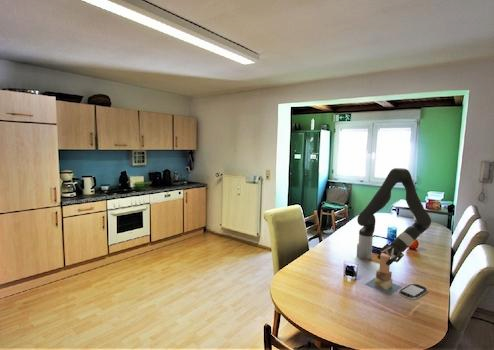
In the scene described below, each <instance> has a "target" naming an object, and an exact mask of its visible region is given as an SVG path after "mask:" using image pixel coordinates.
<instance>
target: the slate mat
mask: <svg viewBox="0 0 494 350" xmlns="http://www.w3.org/2000/svg"><path fill="white" fill-rule="evenodd" d="M374 282H375V277H374V278H372V279H371V280H369V281H367V282H366V283H365V284H364V285H365V286H367V287H369V288H372V289H374V290H377V291H379V292H382V293H384V294H386V295H389V296H392V295H393V294H395V293H396V292H397V291H400V290H401V288H402V287H403V286H402V285H399V284H397V283H394V282H392V286H391V287H390V288H389V289H387V290H385V289H383V288H380V287H378V286H375V285H374Z"/></svg>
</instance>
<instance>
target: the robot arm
mask: <svg viewBox="0 0 494 350" xmlns="http://www.w3.org/2000/svg"><path fill="white" fill-rule="evenodd" d="M397 184H402V185H403V187H404V190H405V201H406V204H407V207H408V209H409V210H410V212H411V214H413V215H414V217H415V222H413V224H411V225H409V226H408V227H407V228H405V230H403V232H401V233H400V234H398V236H396V238H395V239H394V240H393V241H391V245H390V244H389V243H386V244H385V245H384V246H383V247H381V248H380V253H379V254H378V255H377V256H376V257H377V259H379V260H380V255H381V253H385V254H390V259H389V260H388V261H387V262H386V264H387V265H388V266H389V265H392V264H393V263H394V262H395V263H399V262H400V261H401V260H402V258H403V257H405V254H404V253H405V252H406V250H407V249H408V248H410V246H411V245H412V244H413V243H414V242H415V241H416V240H417V239H418V237H420V235H422V234H423V233H424V232H425V231H427V230H428V229H429V228H430V226H431V225H432V219H431V217H430V214H429V213H428V212H427V210H426V209H425V208H424V205H423V203H422V201H421V200H420V198H419V195H418V193H417V191H416V188H415V187H416V186H415V184H414V181H413V177H412V175H411V173H410V170H408V169H407V168H401V167H395V168H392V169H391V170H390V171H389V173H388V174H387V175H386V178H385V180H384V181H383V183H382V185H381V186H380V188H379V189H378V190H377V191H376V193H375V194H374V196H373V197H372V198H371V200H370V201H369V202H368V203H367V205H366V207H365V208H364V209H363V210H362V211H361V212H360V213H359V214H358V215H357V224H358V225H359V226H361V228H360V229H359V231H358V242H357V245H356V257H358V258H359V259H362V260H371V259H372V255H373V252H372V251H373V237H374V233H375V229H376V228H375V226H376V217H375V214H376V213H378V212H379V211H380V210H382V209H384V207H386V206H387V204H388V203H389V202H390V200H391V197H392V190H393V188H394V187H395V186H396V185H397Z"/></svg>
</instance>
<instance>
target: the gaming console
mask: <svg viewBox="0 0 494 350" xmlns="http://www.w3.org/2000/svg"><path fill="white" fill-rule="evenodd" d="M398 293H399V295H400V296H401V297H404V298H406V299H409V300H417V299H419V298H420V297H422V296H423V295H425V294H427V293H428V288H427V287H425V286H423V285H421V284H417V283H412V284H411V283H410V284H408V285H407V286H404V287H403V288H402V289H401V288H400V289H399V291H398Z"/></svg>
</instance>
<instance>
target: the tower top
mask: <svg viewBox="0 0 494 350" xmlns="http://www.w3.org/2000/svg"><path fill="white" fill-rule="evenodd" d="M375 274H376V275H375V277H376V278H378V279H381V280H383V281H386V282H387V281H388V280H390V279H391V278H392V274H393V273H392V271H390V270H389V273H388V274H385V273H381V272H379V269H378V270H376V273H375Z"/></svg>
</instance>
